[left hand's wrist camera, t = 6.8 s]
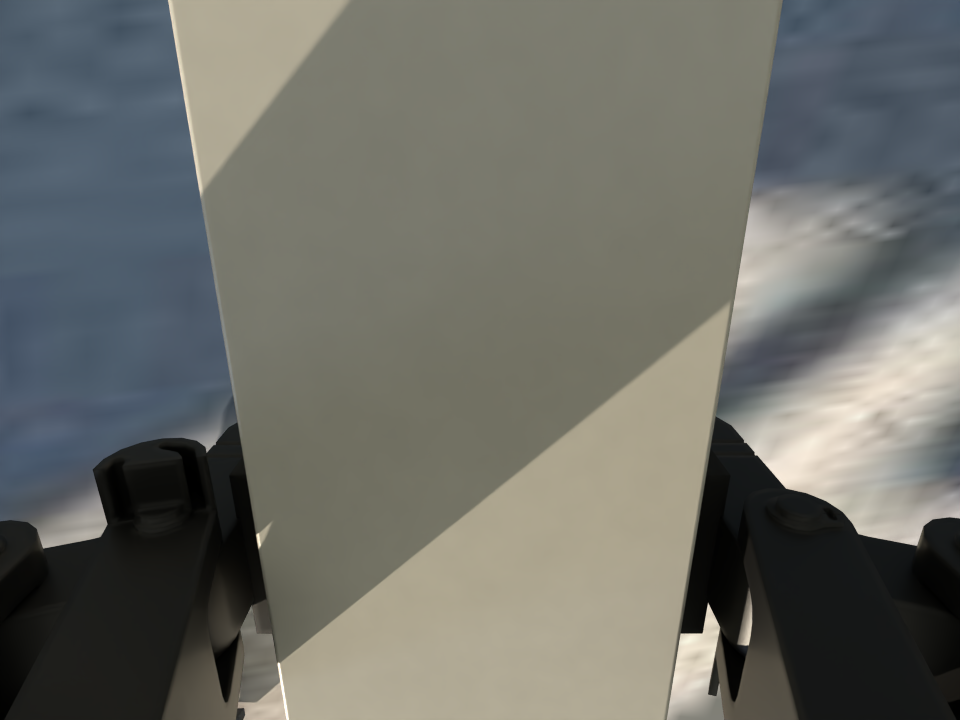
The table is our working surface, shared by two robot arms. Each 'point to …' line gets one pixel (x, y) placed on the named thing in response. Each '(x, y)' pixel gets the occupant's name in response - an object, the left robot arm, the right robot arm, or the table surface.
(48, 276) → the table surface
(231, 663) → the left robot arm
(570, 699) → the bar
